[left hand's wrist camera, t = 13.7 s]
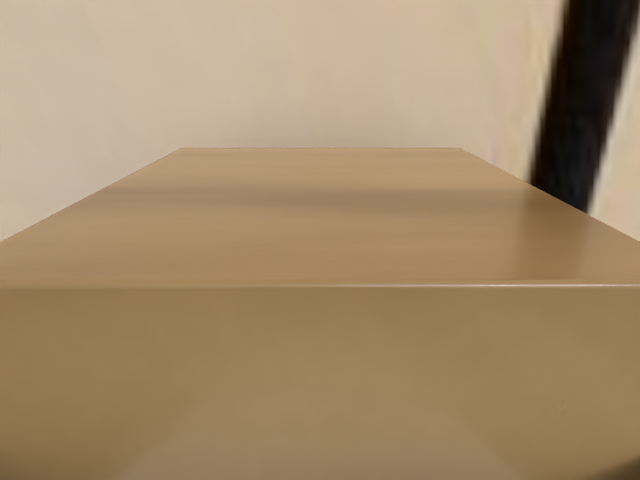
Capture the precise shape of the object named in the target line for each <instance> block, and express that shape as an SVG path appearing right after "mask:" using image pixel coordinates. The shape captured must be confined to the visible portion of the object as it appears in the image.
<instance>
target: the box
mask: <svg viewBox="0 0 640 480" xmlns="http://www.w3.org/2000/svg"><path fill="white" fill-rule="evenodd" d="M0 480H640V242H639V241H637V240H635V239H633V238H631V237H630V236H628V235H626V234H624V233H622V232H620V231H618V230H616V229H614V228H612V227H610V226H608V225H607V224H605V223H603V222H601V221H599V220H597V219H595V218H593V217H591V216H589V215H587V214H585V213H584V212H582V211H580V210H578V209H576V208H574V207H572V206H570V205H568V204H566V203H564V202H562V201H561V200H559V199H557V198H555V197H553V196H551V195H549V194H547V193H545V192H543V191H541V190H539V189H538V188H536V187H534V186H532V185H530V184H528V183H526V182H524V181H522V180H520V179H518V178H516V177H515V176H513V175H511V174H509V173H507V172H505V171H503V170H501V169H499V168H497V167H495V166H493V165H492V164H490V163H488V162H486V161H484V160H482V159H480V158H478V157H476V156H474V155H472V154H470V153H469V152H467V151H465V150H463V149H461V148H181V149H179V150H177V151H175V152H173V153H171V154H169V155H167V156H165V157H163V158H161V159H159V160H157V161H155V162H154V163H152V164H150V165H148V166H146V167H144V168H142V169H140V170H138V171H136V172H134V173H132V174H130V175H129V176H127V177H125V178H123V179H121V180H119V181H117V182H115V183H113V184H111V185H109V186H107V187H105V188H103V189H102V190H100V191H98V192H96V193H94V194H92V195H90V196H88V197H86V198H84V199H82V200H80V201H78V202H77V203H75V204H73V205H71V206H69V207H67V208H65V209H63V210H61V211H59V212H57V213H55V214H53V215H52V216H50V217H48V218H46V219H44V220H42V221H40V222H38V223H36V224H34V225H32V226H30V227H28V228H27V229H25V230H23V231H21V232H19V233H17V234H15V235H13V236H11V237H9V238H7V239H5V240H3V241H1V242H0Z"/></svg>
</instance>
